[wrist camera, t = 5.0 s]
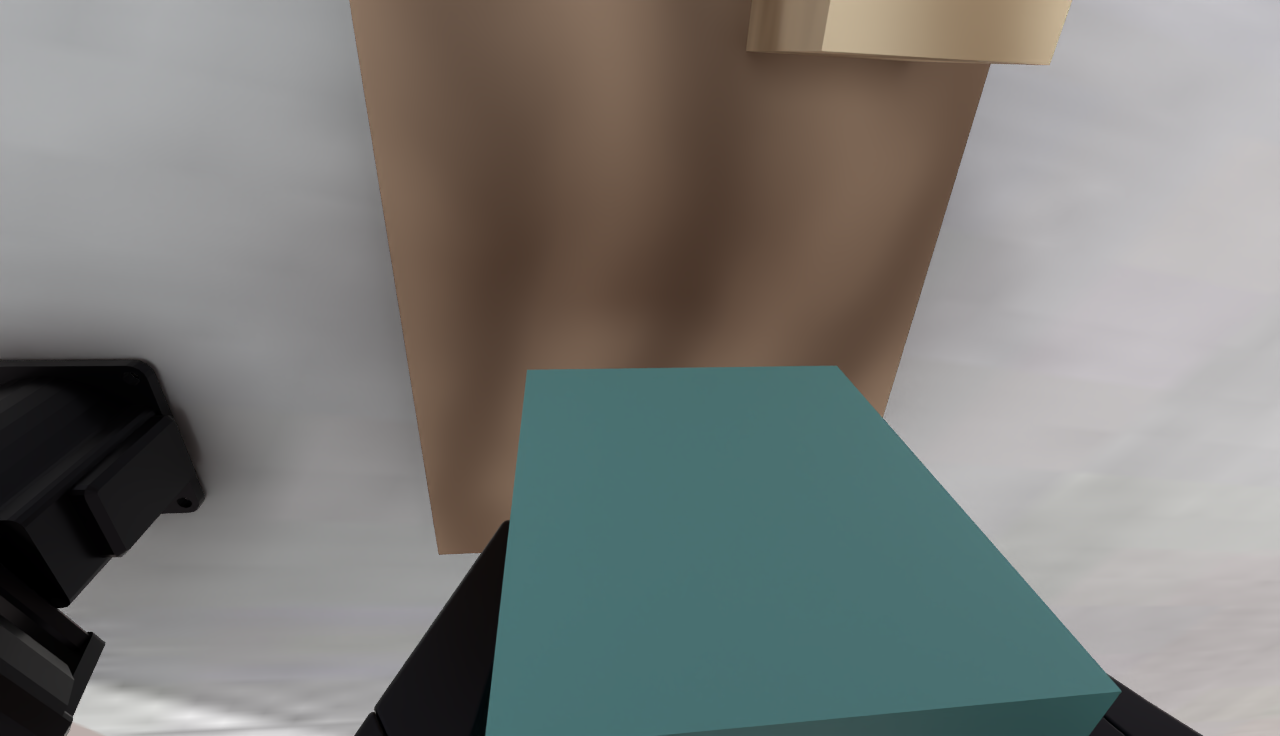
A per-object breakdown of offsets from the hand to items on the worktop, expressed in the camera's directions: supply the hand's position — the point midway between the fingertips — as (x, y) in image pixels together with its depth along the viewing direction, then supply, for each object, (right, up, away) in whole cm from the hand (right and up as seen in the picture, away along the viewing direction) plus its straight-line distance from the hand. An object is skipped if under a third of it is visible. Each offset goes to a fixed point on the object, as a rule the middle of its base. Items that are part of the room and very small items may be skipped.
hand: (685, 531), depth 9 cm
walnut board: (0, +6, +11) cm, 13 cm away
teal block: (0, 0, +1) cm, 1 cm away
